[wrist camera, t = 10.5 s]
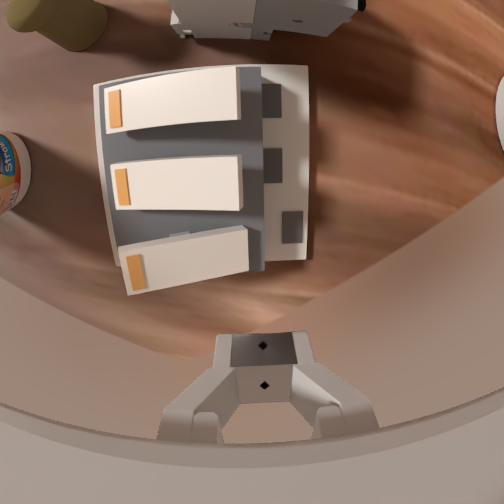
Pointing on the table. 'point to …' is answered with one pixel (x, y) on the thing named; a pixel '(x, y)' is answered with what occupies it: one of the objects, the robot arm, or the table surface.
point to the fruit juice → (13, 170)
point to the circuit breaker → (260, 17)
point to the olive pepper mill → (60, 20)
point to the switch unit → (226, 143)
